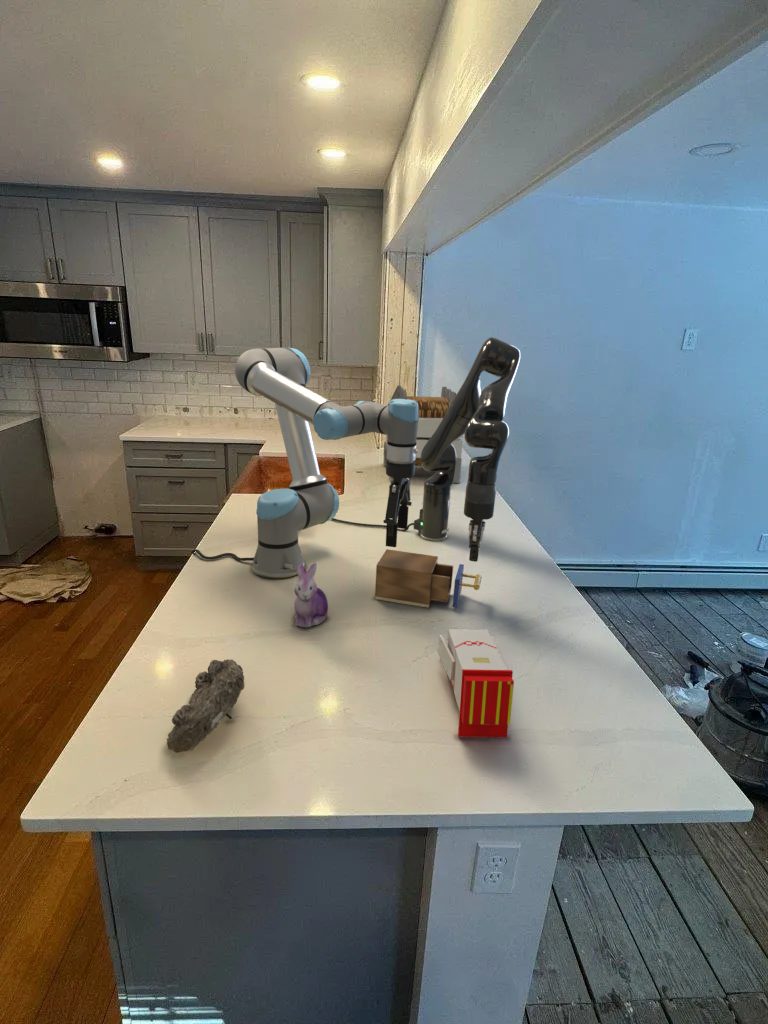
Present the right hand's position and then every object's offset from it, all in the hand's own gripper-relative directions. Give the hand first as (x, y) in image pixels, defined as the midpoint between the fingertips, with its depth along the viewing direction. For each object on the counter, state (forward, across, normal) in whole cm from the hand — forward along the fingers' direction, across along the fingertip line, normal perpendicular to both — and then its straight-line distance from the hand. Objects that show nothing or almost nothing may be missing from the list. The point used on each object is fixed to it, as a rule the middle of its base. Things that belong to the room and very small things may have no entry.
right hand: (473, 560), depth 150 cm
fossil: (+13, -60, +42) cm, 75 cm away
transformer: (+13, +123, +37) cm, 129 cm away
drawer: (+12, 0, +7) cm, 14 cm away
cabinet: (+13, 0, +18) cm, 22 cm away
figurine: (+13, -21, +38) cm, 45 cm away
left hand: (-4, 0, +21) cm, 21 cm away
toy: (+13, -38, -4) cm, 40 cm away
